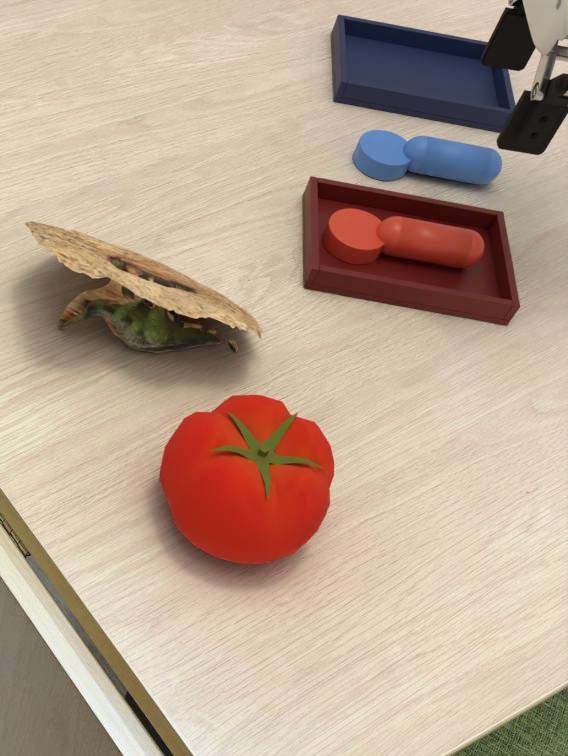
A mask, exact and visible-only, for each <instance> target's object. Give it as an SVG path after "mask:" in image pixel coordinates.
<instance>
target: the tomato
mask: <svg viewBox="0 0 568 756" xmlns="http://www.w3.org/2000/svg"><path fill="white" fill-rule="evenodd" d="M298 414H299V411H297V412H296V413H293V414H291V413H290V412H289V410H288V408H287V406H286V405H285V404H284V402H283V401H282V400H278V399H275V398H272V397H269V396H265V395H262V394H235V395H231V396H229V397H228V398H226V399H225V400H224V401H222V402H221V403H220V404H219V405H218V406H216V407H215V408H213V410H212V411H194V412H193V413H191V414H189V415H188V416H185V417H184V418H183V419H182V421H181V422H180V424H179V425H178V426H177V428H176V429H175V430H174V432H173V433H172V435H171V436H170V438H169V439H168V441H167V442H166V444H165V445H164V449H163V454H162V459H161V464H160V469H159V477H158V481H159V485H160V486H161V489H162V491H163V493H164V495H165V497H166V500H167V503H168V506H169V509H170V512H171V515H172V518H173V521H174V524H175V527H176V529H177V530H178V531H179V532H180V533H181V534H182V535H183V536H184V537H185V538H186V539H187V540H188V541H189V542H190V543H191V545H193V546H194V547H195V548H198V549H200V550H201V551H203V552H205V553H206V554H208V555H210V556H212V557H213V558H216V559H220V560H225V561H228V562H232V563H237V564H253V565H254V564H255V565H257V564H258V565H259V564H261V565H263V564H267V563H272V562H275V561H277V560H280V559H283V558H286V557H289V556H291V555H294V554H295V553H296V552H297V551H299V550H300V549H301V548H302V547H303V546H304V545H305V544H306V543H307V542H308V541H309V540H311V538H312V537H313V536H315V534H317V532H318V531H319V529H320V527H321V525H322V524H323V521H324V520H325V518H326V516H327V513H328V510H329V508H330V505H331V490H330V488H331V485H332V483H333V479H334V476H335V458H334V454H333V449H332V445H331V444H330V442H329V440H328V439H327V438H326V436H325V434H324V432H323V431H322V429H321V428H320V426H319V425H318V424H317V423H316V422H315V421H313V420H310V419H307V418H304V417H300V416H298Z"/></svg>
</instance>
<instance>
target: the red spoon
mask: <svg viewBox="0 0 568 756" xmlns="http://www.w3.org/2000/svg"><path fill="white" fill-rule="evenodd" d="M322 241H323V244H324V246H325V248H326V249H327V251H328V252H329V253H330V254H332V255H333V256H334V257H336V258H337V259H339V260H341V261H344V262H346V263H350V264H356V265H363V264H368V263H371V262H373V261H375V260H376V259H377V258H378V257H379V255H380V253H381V252H382V253H383V254H386V255H389V256H394V257H400V258H405V259H411V260H416V261H422V262H427V263H432V264H438V265H443V266H449V267H454V268H468V267H471V266H472V265H474V264H476V263H477V262H478V261H479V260H480V258H481V257H482V255H483V252H484V241H483V239H482V237H481V235H480V234H478V233H477V232H476V231H474V230H471V229H465V228H460V227H455V226H449V225H444V224H438V223H433V222H428V221H422V220H417V219H411V218H406V217H401V216H393V217H389V218H387V219H385V220H383V221H382V222H381V221H380V220H379V219H378V218H377V217H375V216H374V215H372V214H370V213H368V212H366V211H363V210H359V209H351V208H349V209H342V210H339V211H336V212H335V213H334V214H332V215H331V217H330V219H329V221H328V223H327V225H326V227H325V230H324V232H323V235H322Z"/></svg>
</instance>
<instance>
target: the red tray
mask: <svg viewBox="0 0 568 756" xmlns="http://www.w3.org/2000/svg"><path fill="white" fill-rule="evenodd" d="M349 208H351V209H359V210H363V211H366V212H368V213H370V214H372V215H374V216H375V217H377V218H378V219H379V220H380V221H381V222H382V221H383V220H385V219H387V218H389V217H393V216H401V217H406V218H411V219H417V220H422V221H428V222H433V223H438V224H444V225H449V226H455V227H460V228H465V229H471V230H474V231H476V232H477V233H478V234H480V235H481V237H482V239H483V241H484V252H483V255H482V257H481V258H480V260H479V261H478V262H477V263H476V264H474V265H472V266H471V267H468V268H454V267H449V266H443V265H438V264H432V263H427V262H422V261H416V260H411V259H405V258H400V257H394V256H389V255H386V254H383V253H382V252H381V253H380V255H379V257H378V258H377V259H376V260H375V261H373V262H371V263H368V264H363V265H356V264H350V263H346V262H344V261H341V260H339V259H337V258H336V257H334V256H333V255H332V254H330V253H329V252H328V251H327V249H326V248H325V246H324V244H323V241H322V235H323V232H324V230H325V227H326V225H327V223H328V221H329V219H330V217H331V215H332V214H334V213H335V212H336V211H339V210H342V209H349ZM509 241H510V240H509V236H508V231H507V224H506V217H505V213H504V211H502V210H496V209H492V208H485V207H481V206H480V207H479V206H475V205H468V204H463V203H458V202H453V201H447V200H443V199H437V198H431V197H426V196H421V195H415V194H410V193H404V192H399V191H394V190H388V189H383V188H377V187H373V186H372V187H371V186H367V185H362V184H356V183H350V182H344V181H340V180H333V179H329V178H323V177H317V176H313V175H311V176H310V177H309V179H308V181H307V183H306V186H305V188H304V191H303V193H302V266H303V267H302V276H303V277H302V279H303V281H302V283H303V284H302V285H303V286H302V287H303V289H308V290H313V291H319V292H325V293H330V294H335V295H340V296H346V297H352V298H356V299H362V300H367V301H373V302H379V303H384V304H389V305H393V306H394V305H395V306H400V307H405V308H410V309H416V310H421V311H426V312H433V313H438V314H442V315H443V314H444V315H449V316H456V317H459V318H465V319H471V320H475V321H476V320H477V321H482V322H487V323H494V324H499V325H502V326H503V325H504V326H508V325H509V324H510V322H511V321H512V319H513V318H514V316H515V315H516V314H517V313H518V311H519V309H520V308H521V302H520V297H519V292H518V286H517V280H516V273H515V270H514V264H513V258H512V257H513V256H512V252H511V247H510V242H509Z"/></svg>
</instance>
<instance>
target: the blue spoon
mask: <svg viewBox="0 0 568 756" xmlns="http://www.w3.org/2000/svg"><path fill="white" fill-rule="evenodd" d="M352 161H353V164H354V165H355V167H356V168H357V170H359V171H360V172H361V173H362V174H364V175H366V176H368V177H369V178H372V179H375V180H378V181H384V182H392V181H397V180H400V179H401V178H402V177H404V176H405V175H406V173H407V171H408V172H411V173H413V174H419V175H425V176H430V177H436V178H441V179H447V180H452V181H457V182H463V183H467V184H474V185H487V184H490V183H491V182H493V181H494V180H496V179H497V177H498V176H499V175H500V174H501V172H502V168H503V159H502V156H501V154H500V153H499V152H498V150H496V149H494V148H491V147H488V146H482V145H477V144H471V143H467V142H462V141H461V142H460V141H456V140H451V139H444V138H441V137H440V138H439V137H433V136H428V135H417V136H414V137H412V138H410V139H409V140H407V139H405V138H404V137H402V136H401V135H399V134H397V133H396V132H392V131H389V130H385V129H371V130H368V131H366V132H363V134H361V136H360V137H359V139H358V142H357V144H356V146H355V148H354V150H353V153H352Z"/></svg>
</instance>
